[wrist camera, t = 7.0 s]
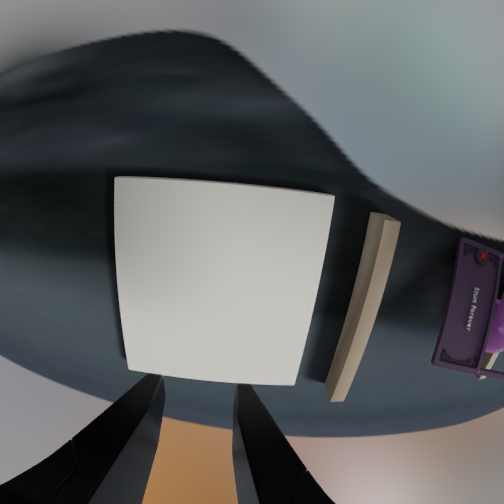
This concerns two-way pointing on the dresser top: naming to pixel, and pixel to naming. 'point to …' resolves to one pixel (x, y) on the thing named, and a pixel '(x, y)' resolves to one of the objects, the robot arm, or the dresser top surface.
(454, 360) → the game card
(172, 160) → the dresser top surface
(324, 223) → the pad
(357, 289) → the rails
